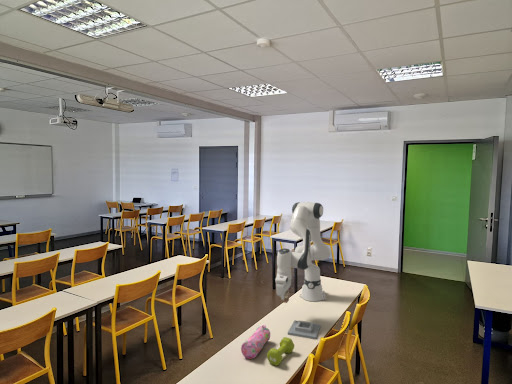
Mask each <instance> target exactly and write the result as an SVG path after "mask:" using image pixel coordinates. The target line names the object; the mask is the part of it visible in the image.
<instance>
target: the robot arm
mask: <svg viewBox="0 0 512 384" xmlns="http://www.w3.org/2000/svg"><path fill="white" fill-rule="evenodd" d="M291 212H292V216H291V219H290V223H289V228H290V230H291V232H292V233H293V234H295V235H296V236H298V237H300V238H302V245H297V246H296V247H295V249H294V251H292V250H290V249H289V248H280V249H279V250H278V251H277V256H276V266H277V269H276V277H275V278H274V280H275V282H274V283H276V284H275V287H276V288H275V289H276V296H278V297H280V296H281V300H284V299H285V296H284V294H285V292H286V291H287V290H288V291H289V288H291V286H292V268H294V269H298V270H301V271H304V277H303V278H304V279H303V285H302V286H301V287H302V288H301V294H299V297H300V298H302V299H303V300H305V301H308V302H320V301H325V300H326V299H327V298H326V292H325V290H323V285H322V279H321V269H320V267H319V266H318V265H316V264H315V263H312V261H325V260H328V259H329V258H330V257H331V250H330V247H329V246H328V245H327V244H326V243H324V241H323V239H322V236H321V220H320V218H321V217H322V216H323V215H324V214H323V213H324V206H323V205H322V204H321V203H319V202H311V201H310V202H309V201H307V202H305V201H304V202H303V201H302V202H295V203H294V204H293V205H292V209H291ZM311 242H312V244H311Z"/></svg>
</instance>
